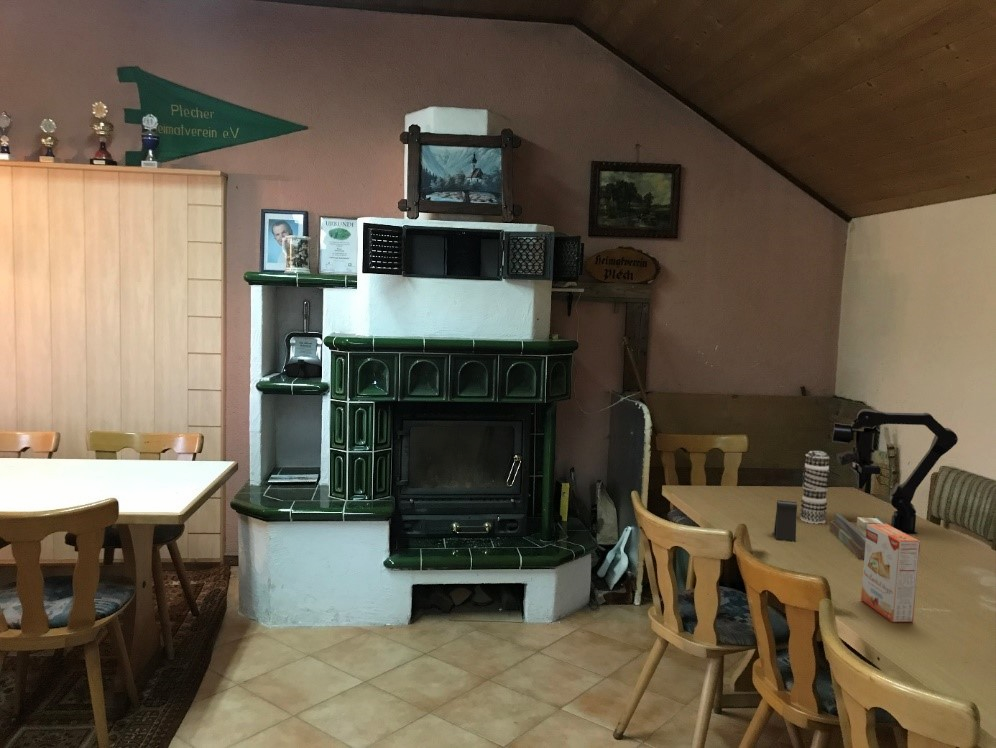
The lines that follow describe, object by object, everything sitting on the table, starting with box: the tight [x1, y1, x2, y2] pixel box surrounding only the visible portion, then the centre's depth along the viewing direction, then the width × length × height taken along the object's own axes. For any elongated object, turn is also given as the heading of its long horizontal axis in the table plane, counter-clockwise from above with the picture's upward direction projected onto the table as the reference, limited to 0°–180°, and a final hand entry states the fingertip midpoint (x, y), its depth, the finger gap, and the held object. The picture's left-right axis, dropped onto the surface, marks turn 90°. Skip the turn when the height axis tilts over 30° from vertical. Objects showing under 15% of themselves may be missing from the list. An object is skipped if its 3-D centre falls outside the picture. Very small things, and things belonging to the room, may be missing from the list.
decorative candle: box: [799, 450, 831, 525], centre depth 273 cm, size 9×9×25 cm
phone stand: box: [773, 499, 798, 543], centre depth 253 cm, size 9×6×12 cm, turn 164°
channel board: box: [829, 513, 890, 560], centre depth 247 cm, size 16×31×6 cm, turn 173°
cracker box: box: [860, 523, 921, 623], centre depth 192 cm, size 14×6×21 cm, turn 5°
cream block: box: [856, 516, 883, 537], centre depth 248 cm, size 6×6×5 cm
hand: (860, 488), depth 270 cm, fingers closed
